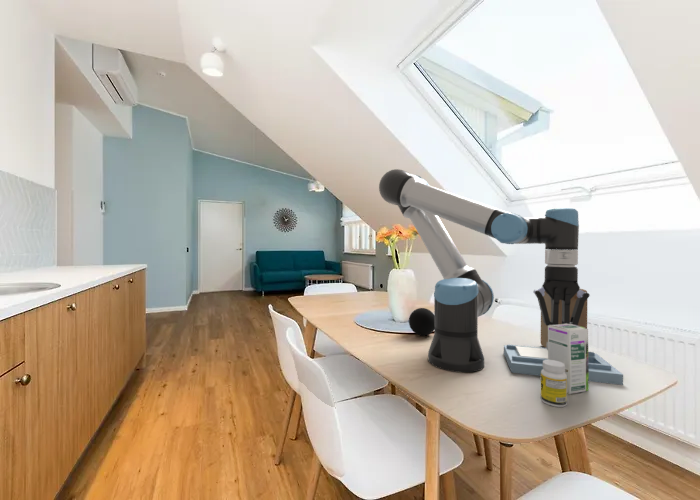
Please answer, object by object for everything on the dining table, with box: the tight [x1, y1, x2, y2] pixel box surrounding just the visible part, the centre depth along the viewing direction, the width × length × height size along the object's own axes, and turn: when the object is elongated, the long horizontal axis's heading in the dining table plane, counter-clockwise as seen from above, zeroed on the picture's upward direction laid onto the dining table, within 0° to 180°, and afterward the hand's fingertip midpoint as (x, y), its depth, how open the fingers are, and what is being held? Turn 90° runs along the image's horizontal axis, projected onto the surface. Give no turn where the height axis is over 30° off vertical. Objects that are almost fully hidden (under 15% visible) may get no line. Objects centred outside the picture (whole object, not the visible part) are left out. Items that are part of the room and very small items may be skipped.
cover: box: [515, 342, 548, 359], centre depth 90 cm, size 10×9×3 cm
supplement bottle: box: [540, 360, 568, 408], centre depth 69 cm, size 5×5×8 cm
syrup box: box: [548, 323, 590, 395], centre depth 76 cm, size 6×6×14 cm
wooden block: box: [540, 288, 588, 348], centre depth 103 cm, size 10×10×20 cm
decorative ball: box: [408, 307, 435, 336], centre depth 121 cm, size 10×10×10 cm
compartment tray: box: [503, 343, 624, 386], centre depth 89 cm, size 24×16×4 cm, turn 71°
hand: (559, 352), depth 89 cm, fingers closed
